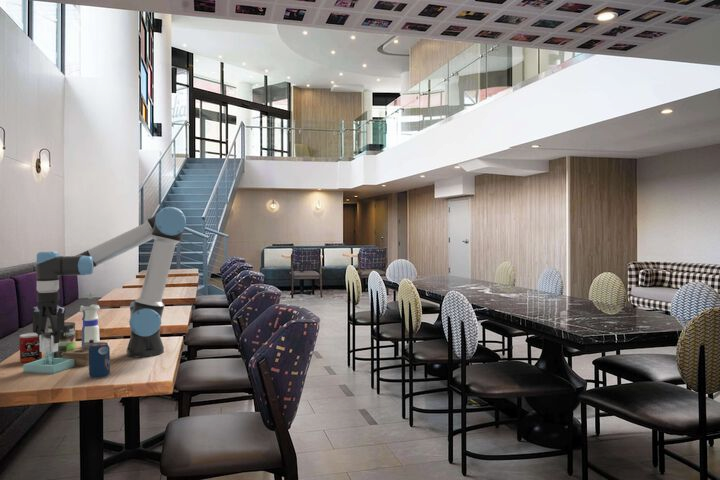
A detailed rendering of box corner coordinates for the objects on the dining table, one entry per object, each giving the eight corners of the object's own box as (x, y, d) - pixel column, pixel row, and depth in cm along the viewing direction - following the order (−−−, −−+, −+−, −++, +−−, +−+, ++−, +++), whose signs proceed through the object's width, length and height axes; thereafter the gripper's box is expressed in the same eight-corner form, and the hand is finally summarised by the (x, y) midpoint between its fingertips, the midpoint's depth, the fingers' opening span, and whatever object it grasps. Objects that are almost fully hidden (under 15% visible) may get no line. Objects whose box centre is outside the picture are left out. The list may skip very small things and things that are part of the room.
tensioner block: (86, 357, 223) (86, 337, 223) (108, 357, 221) (107, 338, 221) (63, 365, 209) (62, 345, 209) (85, 366, 208) (85, 345, 207)
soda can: (111, 377, 192) (110, 344, 192) (90, 380, 188) (89, 346, 188) (108, 372, 198) (108, 341, 198) (88, 375, 194) (87, 343, 194)
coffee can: (81, 354, 228) (80, 322, 228) (63, 360, 218) (62, 326, 218) (60, 353, 230) (60, 321, 230) (42, 359, 220) (41, 325, 220)
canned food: (18, 364, 212) (17, 337, 212) (22, 359, 219) (21, 333, 219) (40, 362, 215) (39, 335, 215) (43, 357, 223) (42, 332, 222)
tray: (74, 366, 208) (74, 358, 208) (53, 373, 197) (53, 365, 197) (45, 365, 210) (45, 357, 210) (23, 372, 199) (23, 364, 199)
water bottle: (76, 347, 242) (75, 293, 242) (95, 344, 249) (94, 291, 248) (84, 349, 237) (83, 294, 236) (103, 346, 243) (102, 293, 243)
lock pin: (58, 361, 205) (57, 331, 205) (49, 364, 201) (49, 333, 201) (48, 361, 206) (47, 331, 206) (39, 364, 202) (39, 333, 201)
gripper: (74, 290, 205) (75, 349, 206) (35, 289, 208) (36, 348, 208) (60, 292, 198) (61, 354, 198) (20, 292, 201) (21, 352, 201)
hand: (48, 351), depth 203 cm, fingers closed on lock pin, 4 cm apart
